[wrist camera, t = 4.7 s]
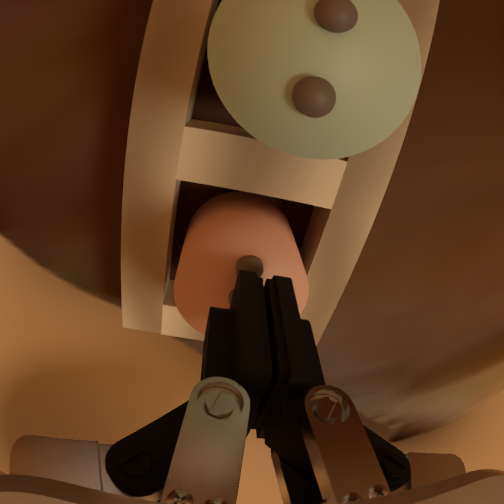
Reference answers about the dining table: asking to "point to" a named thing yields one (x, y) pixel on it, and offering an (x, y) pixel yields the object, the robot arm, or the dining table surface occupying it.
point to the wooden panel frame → (234, 173)
